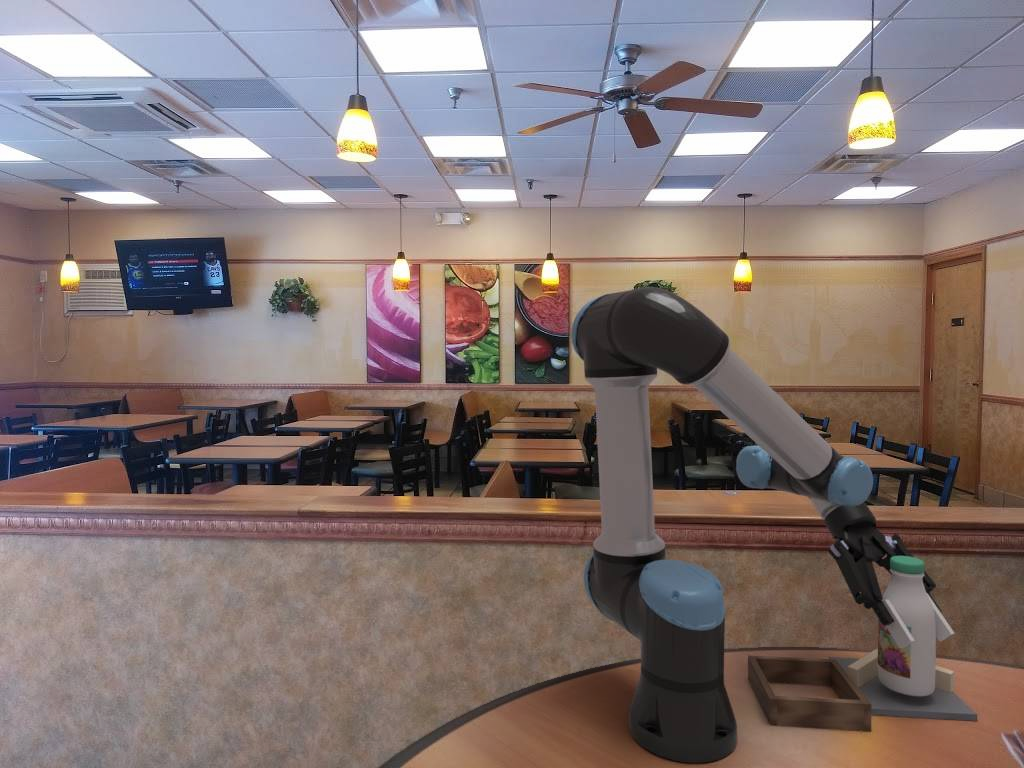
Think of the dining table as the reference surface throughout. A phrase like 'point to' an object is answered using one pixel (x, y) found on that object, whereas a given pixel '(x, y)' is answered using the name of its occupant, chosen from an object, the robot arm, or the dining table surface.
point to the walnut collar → (806, 710)
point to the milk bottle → (917, 660)
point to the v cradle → (902, 705)
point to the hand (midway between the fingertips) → (927, 640)
